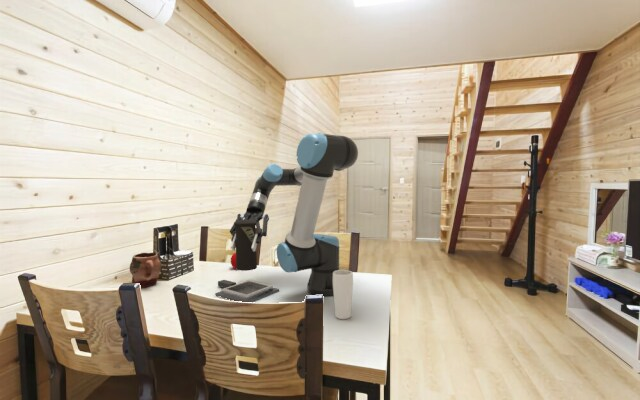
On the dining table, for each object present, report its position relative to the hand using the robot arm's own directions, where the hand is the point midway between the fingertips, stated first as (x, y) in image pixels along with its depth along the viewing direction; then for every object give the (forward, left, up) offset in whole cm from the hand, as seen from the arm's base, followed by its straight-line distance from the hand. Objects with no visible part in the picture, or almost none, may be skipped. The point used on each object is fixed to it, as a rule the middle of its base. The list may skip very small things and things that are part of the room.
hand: (242, 249), depth 127 cm
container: (+2, -3, -9) cm, 9 cm away
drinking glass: (-43, -5, -19) cm, 47 cm away
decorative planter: (+47, +15, -19) cm, 53 cm away
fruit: (+35, -28, -19) cm, 48 cm away
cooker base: (+5, -3, -19) cm, 20 cm away
